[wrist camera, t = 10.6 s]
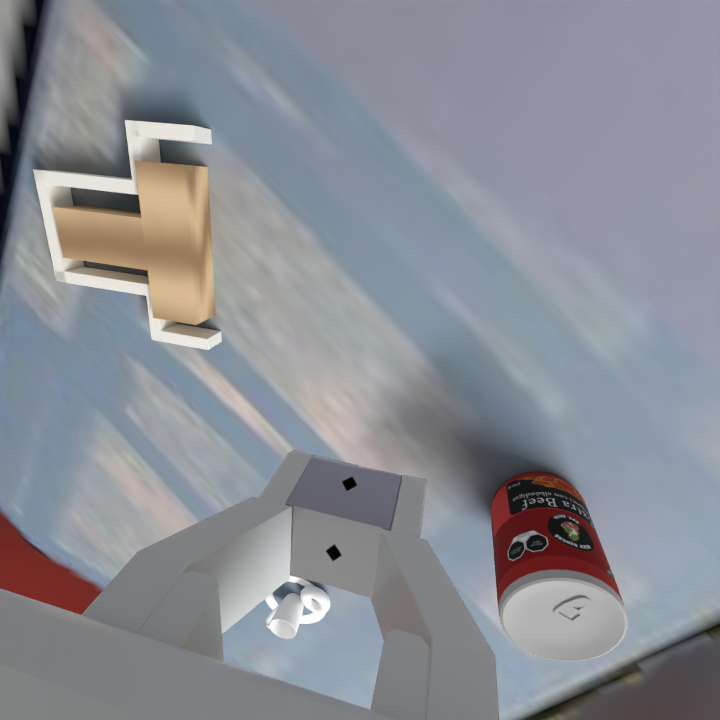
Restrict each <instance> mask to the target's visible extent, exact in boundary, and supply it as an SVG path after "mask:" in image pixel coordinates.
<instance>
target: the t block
mask: <svg viewBox="0 0 720 720" xmlns="http://www.w3.org/2000/svg"><path fill="white" fill-rule="evenodd" d="M135 168H136V176H137V185H138V193H139V201H140V210H141V212H133V211H125V210H117V209H109V208H101V207H93V206H85V205H81V206H61V207H53V210H54V215H55V220H56V225H57V230H58V235H59V240H60V245H61V250H62V255H63V258H69V259H75V260H82V261H89V262H95V263H102V264H109V265H115V266H122V267H129V268H135V269H142V270H148V278H149V286H150V295H151V303H152V312H153V318H157V319H163V320H169V321H175V322H181V323H187V324H192V325H197V324H199V323H201V322H203V321H205V320H207V319H209V318H211V317H213V316H215V296H214V278H213V260H212V242H211V224H210V206H209V187H208V169H207V167H203V166H193V165H183V164H173V163H163V162H150V161H138V160H135Z"/></svg>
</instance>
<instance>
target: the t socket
mask: <svg viewBox="0 0 720 720" xmlns="http://www.w3.org/2000/svg"><path fill="white" fill-rule="evenodd" d="M125 126H126V134H127V142H128V150H129V158H130V166H131V175H132V178H123V177H114V176H105V175H96V174H86V173H77V172H68V171H59V170H35V169H33V171H34V176H35V181H36V186H37V191H38V195H39V200H40V205H41V210H42V214H43V219H44V224H45V229H46V233H47V238H48V243H49V248H50V253H51V257H52V262H53V267H54V272H55V276H56V281H59V282H65V283H71V284H77V285H84V286H90V287H96V288H102V289H108V290H114V291H121V292H127V293H133V294H139V295H145V296H146V297H147V305H148V313H149V321H150V329H151V337H152V340H156V341H162V342H167V343H173V344H178V345H184V346H189V347H195V348H200V349H205V350H209V349H211V348H212V347H214V346H215V345H217V344H218V343H220V342H221V341H222V340H221V331H218V330H212V329H206V328H200V327H195V326H189V325H183V324H177V323H176V322H175V321H169V320H163V319H157V318H153V312H152V303H151V295H150V286H149V278H148V277H147V276H141V275H134V274H128V273H121V272H115V271H108V270H102V269H95V268H89V267H85V266H84V261H82V260H75V259H69V258H63V255H62V250H61V245H60V240H59V235H58V230H57V225H56V220H55V215H54V210H53V207H61V206H74V205H73V200H72V194H71V188H70V187H74V188H83V189H92V190H100V191H109V192H118V193H126V194H135V195H139V193H138V185H137V176H136V168H135V160H138V161H150V162H161V158H160V147H159V140H167V141H179V142H190V143H201V144H212V140H211V129H207V128H202V127H198V126H193V125H180V124H168V123H156V122H144V121H131V120H125Z"/></svg>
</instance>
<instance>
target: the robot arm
mask: <svg viewBox="0 0 720 720" xmlns="http://www.w3.org/2000/svg"><path fill="white" fill-rule="evenodd" d="M426 486H427V481H426V479H421V478H416V477H411V476H406V475H403V477H402V475H398V474H394V473H389V472H385V471H380V470H375V469H371V468H366V467H362V466H358V465H354V464H350V463H346V462H342V461H338V460H334V459H330V458H326V457H322V456H318V455H313V454H308V453H304V452H300V451H296V450H293V451H291V452H290V453H288V455H287V456H286V458H285V459H284V461H283V462H282V464H281V466H280V467H279V469H278V470H277V472H276V473H275V475H274V476H273V478H272V479H271V481H270V482H269V484H268V485H267V487H266V488H265V490H264V491H263V493H262V494H261V496H260V497H259V498H256V497H251V498H249V499H247V500H245V501H242V502H240V503H238V504H236V505H234V506H232V507H230V508H228V509H226V510H224V511H222V512H220V513H217V514H215V515H213V516H211V517H209V518H207V519H205V520H203V521H201V522H199V523H197V524H195V525H192V526H190V527H188V528H186V529H184V530H182V531H180V532H178V533H176V534H174V535H172V536H169V537H167V538H165V539H163V540H161V541H159V542H157V543H155V544H153V545H151V546H149V547H147V548H144V549H142V550H140V551H138V552H137V553H136V554H135V555H134V557H133V558H132V559H131V560H130V561H129V562H128V563H127V564H126V566H125V567H124V568H123V569H122V570H121V571H120V572H119V573H118V574H117V576H116V577H115V578H114V579H113V580H112V581H111V582H110V583H109V585H108V586H107V587H106V588H105V589H104V590H103V591H102V592H101V594H100V595H99V596H98V597H97V598H96V599H95V600H94V602H93V603H92V604H91V605H90V606H89V607H88V608H87V609H86V610H85V612H84V613H83V614H82V615H79V614H76V613H73V612H70V611H67V610H64V609H61V608H58V607H55V606H52V605H48V604H46V603H42V602H39V601H36V600H33V599H30V598H27V597H24V596H21V595H18V594H15V593H12V592H9V591H6V590H3V589H0V720H499V709H498V692H497V676H496V660H495V655H494V653H493V651H492V650H491V648H490V646H489V644H488V643H487V641H486V639H485V638H484V636H483V634H482V633H481V631H480V629H479V627H478V626H477V624H476V622H475V621H474V619H473V617H472V616H471V614H470V612H469V610H468V609H467V607H466V605H465V604H464V602H463V600H462V599H461V597H460V595H459V593H458V592H457V590H456V588H455V587H454V585H453V583H452V582H451V580H450V578H449V576H448V575H447V573H446V571H445V570H444V568H443V566H442V565H441V563H440V561H439V559H438V558H437V556H436V554H435V553H434V551H433V549H432V548H431V546H430V544H429V542H428V541H427V540H424V539H421V538H420V533H421V525H422V517H423V509H424V502H425V494H426ZM290 576H294V577H298V578H302V579H306V580H310V581H314V582H318V583H322V584H326V585H330V586H334V587H337V588H340V589H343V590H346V591H350V592H353V593H356V594H359V595H363V596H366V597H369V598H372V600H371V601H372V604H373V607H374V610H375V614H376V617H377V620H378V623H379V627H380V630H381V633H382V636H383V640H384V644H383V649H382V654H381V659H380V664H379V669H378V674H377V679H376V684H375V690H374V695H373V700H372V705H371V710H369V709H366V708H363V707H360V706H357V705H354V704H351V703H348V702H345V701H342V700H339V699H336V698H333V697H330V696H327V695H324V694H320V693H317V692H314V691H311V690H308V689H305V688H302V687H299V686H296V685H293V684H290V683H287V682H284V681H281V680H278V679H275V678H272V677H268V676H265V675H262V674H259V673H256V672H253V671H250V670H247V669H244V668H241V667H238V666H235V665H232V664H229V663H226V662H224V656H223V642H222V634H223V633H224V632H225V631H226V630H228V629H229V628H230V627H231V626H232V625H234V624H235V623H236V622H237V621H239V620H240V619H241V618H242V617H243V616H245V615H246V614H247V613H248V612H249V611H251V610H252V609H253V608H254V607H256V606H257V605H258V604H259V603H260V602H262V601H263V600H264V599H265V598H267V597H268V596H269V595H270V594H271V593H273V592H274V591H275V590H276V589H278V588H279V587H280V586H281V585H282V584H284V583H285V582H286V581H287V580H288V579H290Z"/></svg>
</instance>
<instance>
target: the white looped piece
mask: <svg viewBox="0 0 720 720" xmlns="http://www.w3.org/2000/svg"><path fill="white" fill-rule="evenodd" d="M287 581H289V582H295V583H298V584H301V585H303V586H304V587H305V588H304V589H302V591H301V593H300V596H299V595H298V594H295V593H289V594H288V595H286V596H285V598H284V599H283V600H282V601H281V603H280V604H279V605H278V604H277V602H276V601H275V599H274V597H273V593H271V594H270V595H269V596H268V597H267V598H265V600H266V602H267V604H268V605H269V606H270V608H271V609H272V610H273V611H272V612H271V613H270V614H269V616H268V617H267V619H266V621H265V624H266V626H267V627H268V628H270V629H271V631H272V632H273V633H274V634H275V635H277V636H278V637H281V638H284V639H291V638H293V637H295V635H296V633H297V630H298V626H299V623H301V624H310V623H315V622H317V621H319V620H321V619H322V618H323V617H324V615H325V613H326V612H327V611H328V610H329V608H330V599H329V597H328V595H327V594H326V593H325V592H324V591H323V590H322V589H320V588H318V587H315V586H314V585H313V584H312V583H310V582H309V581H307V580H305V579H302V578H298V577H294V576H290V579H288V580H287ZM304 605H305V607H307V608H308V609H309V610H311V611H313V613H312V614H309V615H304V616H302V613H303V607H304ZM272 617H273V618H272ZM271 619H272V620H271ZM270 620H271V622H270V624H268V623H269V621H270Z"/></svg>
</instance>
